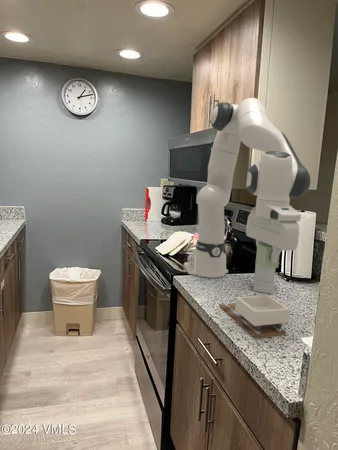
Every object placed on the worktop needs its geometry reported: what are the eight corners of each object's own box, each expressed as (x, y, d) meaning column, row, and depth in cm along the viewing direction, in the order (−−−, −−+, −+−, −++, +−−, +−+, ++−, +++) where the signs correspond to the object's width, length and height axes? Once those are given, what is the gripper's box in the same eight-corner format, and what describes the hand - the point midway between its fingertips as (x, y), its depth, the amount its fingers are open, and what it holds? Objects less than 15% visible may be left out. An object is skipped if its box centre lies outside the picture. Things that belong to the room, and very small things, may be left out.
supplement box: (273, 288, 138) (276, 257, 136) (272, 294, 131) (276, 261, 129) (254, 285, 140) (257, 254, 138) (252, 291, 133) (255, 259, 131)
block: (255, 263, 101) (257, 243, 100) (268, 263, 102) (270, 243, 101) (264, 268, 96) (266, 247, 95) (278, 267, 98) (280, 247, 97)
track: (219, 306, 116) (219, 302, 116) (245, 304, 119) (246, 300, 119) (254, 338, 96) (255, 333, 95) (285, 334, 99) (286, 330, 98)
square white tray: (234, 316, 105) (236, 297, 104) (265, 313, 109) (267, 295, 108) (253, 332, 95) (255, 312, 94) (287, 329, 99) (289, 309, 98)
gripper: (242, 205, 105) (239, 250, 108) (284, 215, 86) (278, 269, 88) (260, 206, 107) (256, 249, 110) (305, 215, 88) (299, 268, 90)
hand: (267, 258), depth 99 cm, fingers closed on block, 4 cm apart
